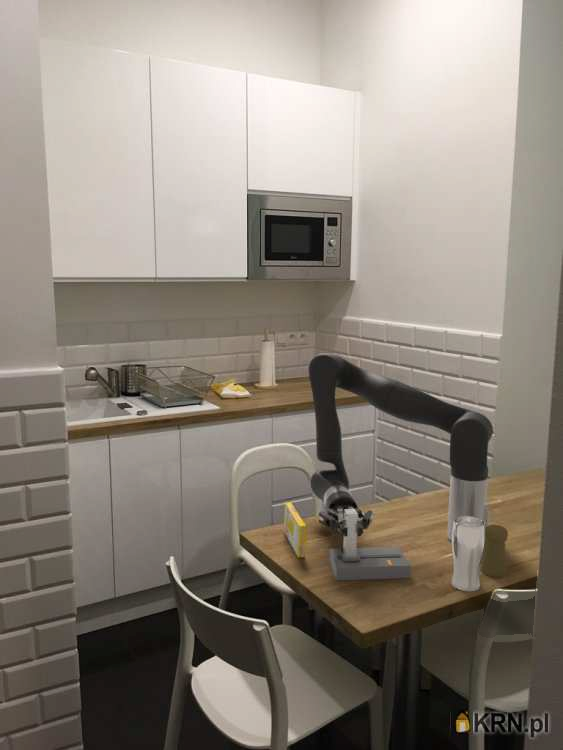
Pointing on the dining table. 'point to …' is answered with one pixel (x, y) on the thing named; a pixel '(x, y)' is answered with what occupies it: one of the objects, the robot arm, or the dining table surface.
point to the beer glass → (467, 552)
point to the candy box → (295, 530)
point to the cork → (494, 552)
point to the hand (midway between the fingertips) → (353, 532)
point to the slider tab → (350, 537)
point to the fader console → (371, 564)
